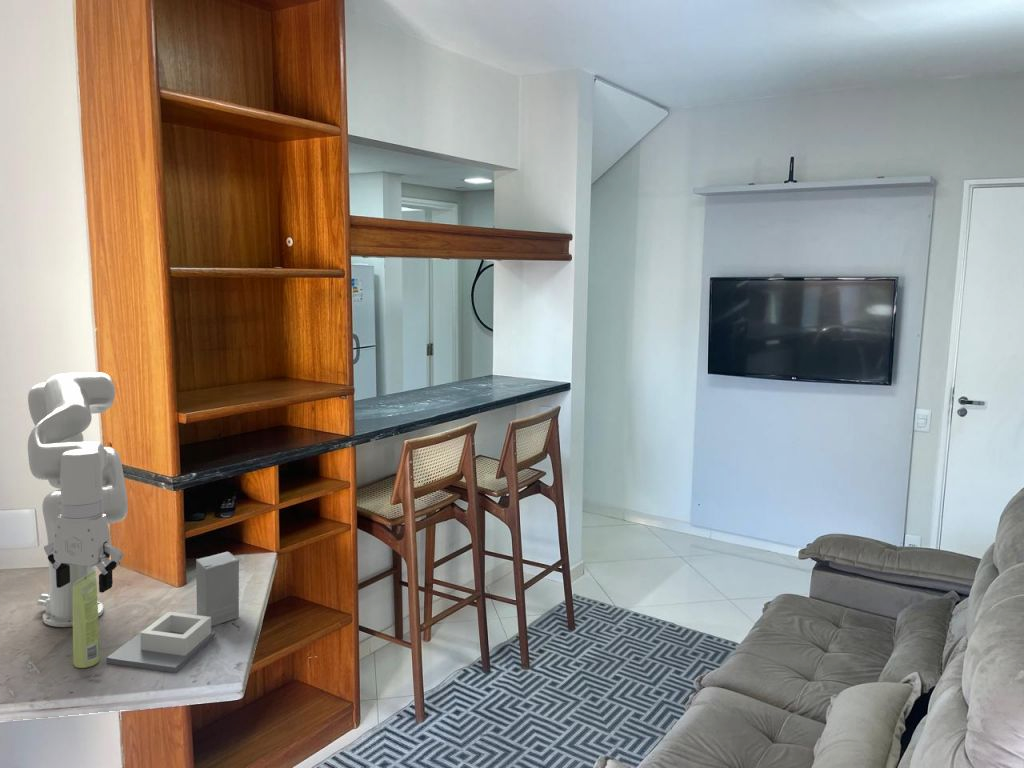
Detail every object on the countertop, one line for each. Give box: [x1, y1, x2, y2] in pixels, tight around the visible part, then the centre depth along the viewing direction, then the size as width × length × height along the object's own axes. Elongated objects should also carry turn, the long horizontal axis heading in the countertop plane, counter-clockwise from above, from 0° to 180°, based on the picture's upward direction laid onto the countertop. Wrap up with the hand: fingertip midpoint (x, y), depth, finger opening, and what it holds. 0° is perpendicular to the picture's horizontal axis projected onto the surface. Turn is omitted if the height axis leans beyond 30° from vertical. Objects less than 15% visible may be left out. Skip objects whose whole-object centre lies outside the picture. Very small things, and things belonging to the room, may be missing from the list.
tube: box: [72, 569, 101, 669], centre depth 157 cm, size 6×5×20 cm
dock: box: [105, 611, 217, 674], centre depth 165 cm, size 16×16×5 cm
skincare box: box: [195, 551, 240, 627], centre depth 180 cm, size 8×7×16 cm
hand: (84, 587), depth 155 cm, fingers open, 9 cm apart
